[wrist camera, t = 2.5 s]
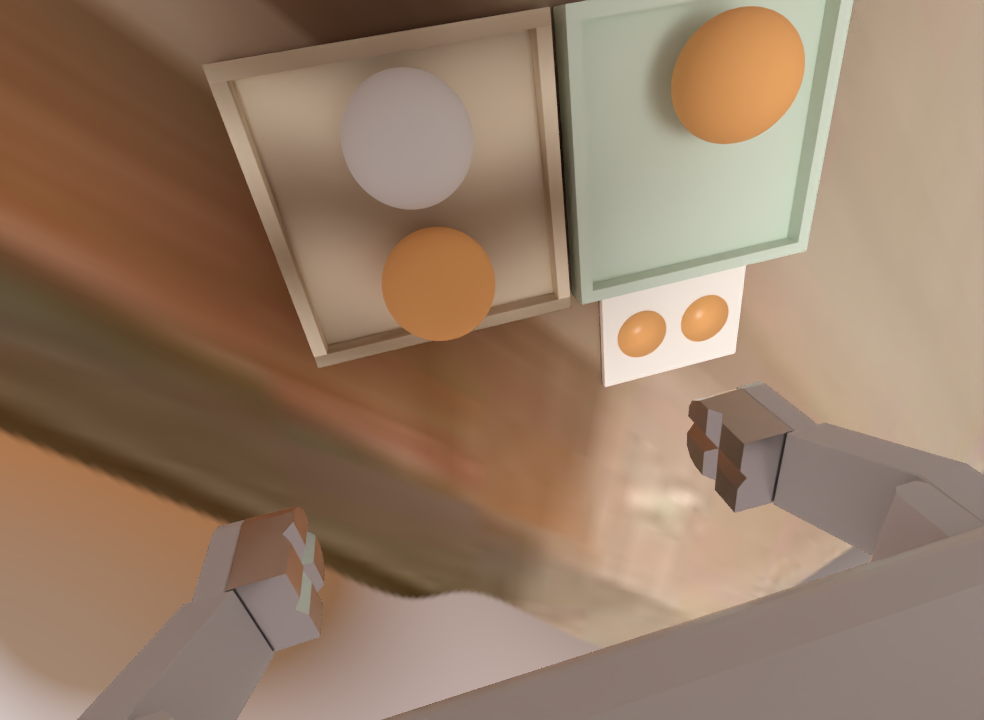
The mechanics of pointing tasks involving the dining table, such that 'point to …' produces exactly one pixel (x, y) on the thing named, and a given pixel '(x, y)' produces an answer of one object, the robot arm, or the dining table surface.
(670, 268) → the tray sage
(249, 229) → the dining table surface
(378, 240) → the tray birch
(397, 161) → the grey ball
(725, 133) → the orange ball
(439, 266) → the orange ball
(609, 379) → the card
